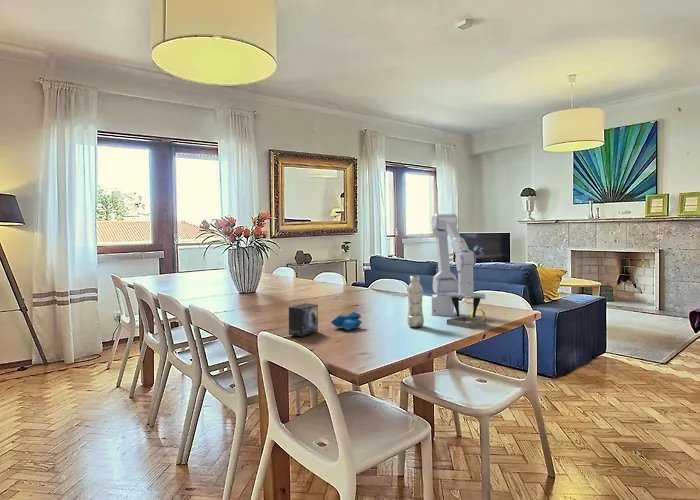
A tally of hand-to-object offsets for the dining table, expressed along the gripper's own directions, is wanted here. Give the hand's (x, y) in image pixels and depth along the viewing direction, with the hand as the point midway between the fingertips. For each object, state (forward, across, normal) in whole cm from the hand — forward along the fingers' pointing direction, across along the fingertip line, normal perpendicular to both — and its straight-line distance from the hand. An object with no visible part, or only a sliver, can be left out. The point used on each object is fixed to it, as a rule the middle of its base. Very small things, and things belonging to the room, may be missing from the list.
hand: (466, 316), depth 171 cm
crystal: (+1, -40, -11) cm, 41 cm away
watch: (+4, +4, +8) cm, 9 cm away
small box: (+4, -58, -26) cm, 64 cm away
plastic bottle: (+4, -19, -7) cm, 20 cm away
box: (+3, 0, 0) cm, 3 cm away
